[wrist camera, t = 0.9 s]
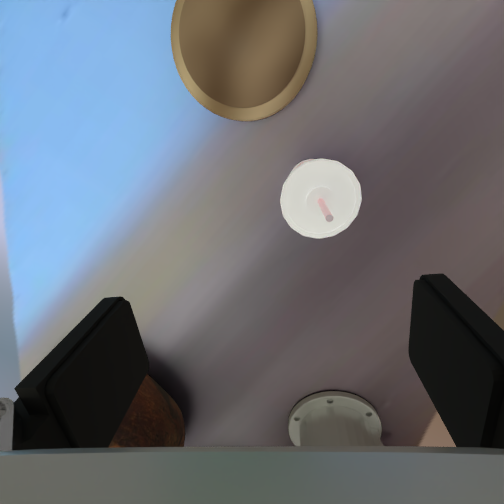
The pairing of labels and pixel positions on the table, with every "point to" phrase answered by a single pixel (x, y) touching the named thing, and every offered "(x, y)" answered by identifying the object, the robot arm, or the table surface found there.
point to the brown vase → (151, 420)
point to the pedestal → (244, 53)
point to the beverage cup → (320, 198)
